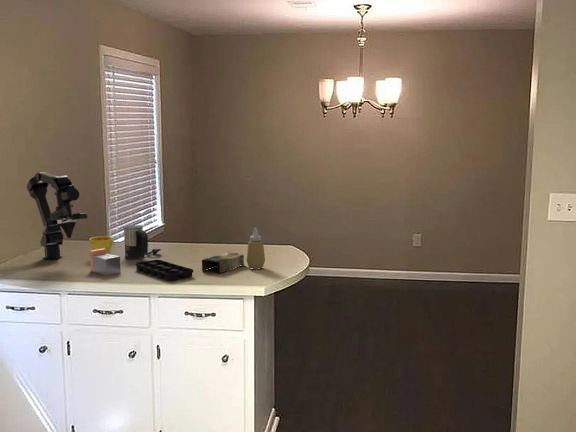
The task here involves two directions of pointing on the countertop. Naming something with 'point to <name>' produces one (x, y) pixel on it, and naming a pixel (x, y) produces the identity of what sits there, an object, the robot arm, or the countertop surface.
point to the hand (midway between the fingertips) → (69, 237)
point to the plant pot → (101, 243)
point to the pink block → (93, 253)
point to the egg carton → (164, 270)
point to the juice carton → (223, 262)
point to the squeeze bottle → (255, 251)
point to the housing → (106, 264)
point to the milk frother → (136, 242)
